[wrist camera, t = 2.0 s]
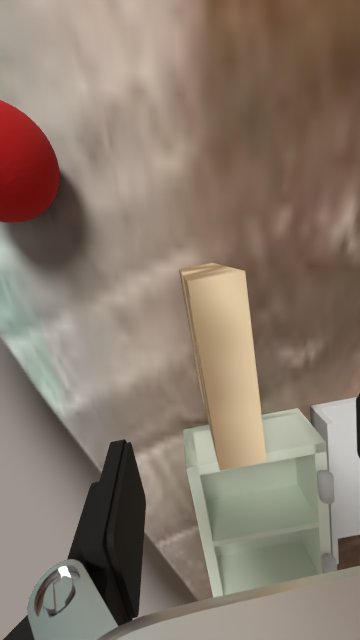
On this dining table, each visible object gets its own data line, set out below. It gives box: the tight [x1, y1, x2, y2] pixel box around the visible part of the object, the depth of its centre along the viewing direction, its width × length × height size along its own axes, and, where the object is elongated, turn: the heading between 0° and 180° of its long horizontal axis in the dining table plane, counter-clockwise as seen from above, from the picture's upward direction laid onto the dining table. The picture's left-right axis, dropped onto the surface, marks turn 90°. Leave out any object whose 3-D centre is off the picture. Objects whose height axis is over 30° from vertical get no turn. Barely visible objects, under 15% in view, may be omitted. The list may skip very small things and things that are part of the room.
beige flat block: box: [179, 263, 267, 471], centre depth 20 cm, size 3×12×10 cm, turn 10°
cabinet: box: [183, 397, 360, 597], centre depth 27 cm, size 19×18×6 cm
